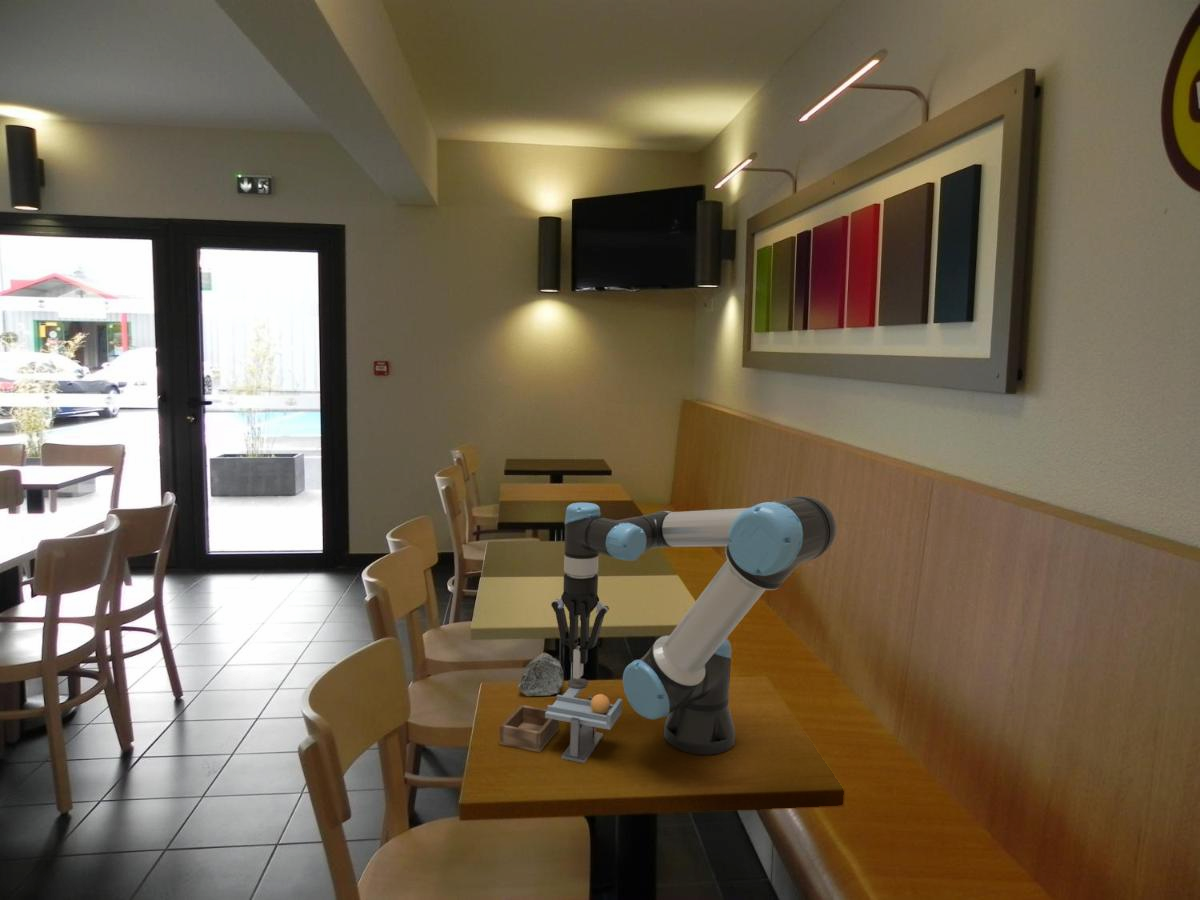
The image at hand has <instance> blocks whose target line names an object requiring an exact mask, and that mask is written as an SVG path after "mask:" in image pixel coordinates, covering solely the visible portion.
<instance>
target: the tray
mask: <svg viewBox="0 0 1200 900" xmlns="http://www.w3.org/2000/svg"><path fill="white" fill-rule="evenodd" d="M546 712H547V709H546V708H541V707H536V706H531V705H530V706H529V705H524V704H520V705H519V706H518V707H517V708H516V709H515V710H514V711H513V713H511V714H510V715H509V716H508V718H506V720H504V721H503V723H502V724H501V725H500V726H499V745H503V746H506V747H507V746H508V747H513V748H516V749H517V748H518V749H521V750H527V751H530V752H531V751H532V752H536V753H541V751H543V749H544V748H545V747H546V745H547V744H548V743H549V742H550V741H551V739H552V738H553V736H554V735H555V734H557V731H559V730H560V729H559V726H560V725H559V724H560V720H555V719H550V718H545V713H546Z"/></svg>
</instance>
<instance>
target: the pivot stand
mask: <svg viewBox="0 0 1200 900" xmlns="http://www.w3.org/2000/svg"><path fill="white" fill-rule="evenodd" d="M593 697H594V696H591V695H588V697H587V700H590V701H591V700H592V698H593ZM569 737H570V742H569V745H568V747H566V749H565V750H564V752H563V753H562V754H561V757H560V758H561V760H566V761H570V762H571V761H572V762H575V763H576V762H577V763H579V764H581V763H582V764H586V762H587V761H588V759H589V758H590V756H591V755H592V753H593V752H594V750H595V749H596V747H597V746H598V744H599V743H600V741H601V740H602V738H603V737H604V732H599V731H596V727H592V726H587V725H582V724H580V719H579V718H574V717H572V718H571V722H570V736H569Z"/></svg>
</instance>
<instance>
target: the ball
mask: <svg viewBox="0 0 1200 900" xmlns="http://www.w3.org/2000/svg"><path fill="white" fill-rule="evenodd" d="M592 697H593V698H592V700H591V709H592V710H593V712H594V713H596V714H604V713H606V712H607V711H608V710H609V707H610V704H611V702H610V699H609V697H608V696H606V695H605V694H602V693H599V694H596V695H594V696H592Z"/></svg>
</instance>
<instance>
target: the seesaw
mask: <svg viewBox="0 0 1200 900" xmlns="http://www.w3.org/2000/svg"><path fill="white" fill-rule="evenodd" d="M567 681H568V682H567V685H568V687H569V688H568V689H567V690H566V691H565V692H564V693H563V694H556V700H555V701H554V703H552V704H551V705H550V704H547V706H546V707H547V712H546V713H545V718H550V719H555V720H559V722H561V721H562V722H567V723H571V718H572V717H574V718H579V719H580V724H582V725H587V726H592V727H595V728H599V729H604V730H609V731H610V730H611V729H612V728H613V727H614V725H615V723H616V722H617V721H618V719H619V717H620V716H621V715H622V712H623V711H622V710H623V698H618V699H616V702H615V703H614V704H612V703H610V707H609V710H608V711H607V712H606V713H604V714H596V713H594V712H593V710H592V709H591V701H590V700H588V699H585V698H578V696H579V695H580V693H581V692H582V691H583V690H584V689H586V688H587V687H588V686H589V685H588V683H589V682H588V680H587V679H585V678H581V677H580V679H576V678H570V679H568V680H567Z"/></svg>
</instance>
